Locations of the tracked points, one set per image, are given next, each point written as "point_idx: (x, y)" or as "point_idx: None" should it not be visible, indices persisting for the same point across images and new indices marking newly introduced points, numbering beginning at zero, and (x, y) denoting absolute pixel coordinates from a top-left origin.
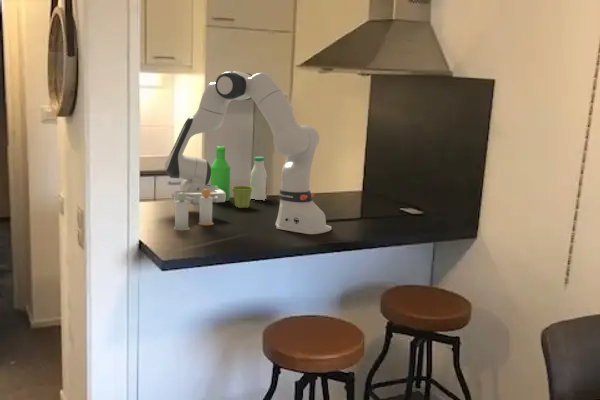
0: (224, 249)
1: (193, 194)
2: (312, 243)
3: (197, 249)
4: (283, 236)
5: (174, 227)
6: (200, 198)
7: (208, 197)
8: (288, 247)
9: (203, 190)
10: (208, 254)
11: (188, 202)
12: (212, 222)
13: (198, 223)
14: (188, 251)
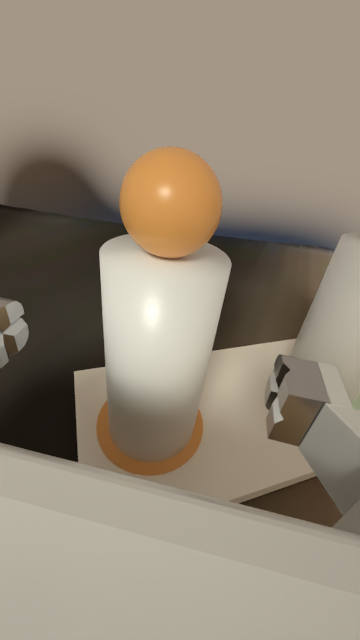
0: (218, 246)
1: (261, 513)
2: (26, 215)
3: (275, 260)
4: (18, 244)
5: (357, 408)
6: (228, 261)
7: (142, 250)
8: (93, 220)
9: (212, 170)
10: (259, 243)
11: (338, 243)
12: (99, 421)
13: (199, 434)
14: (296, 260)
